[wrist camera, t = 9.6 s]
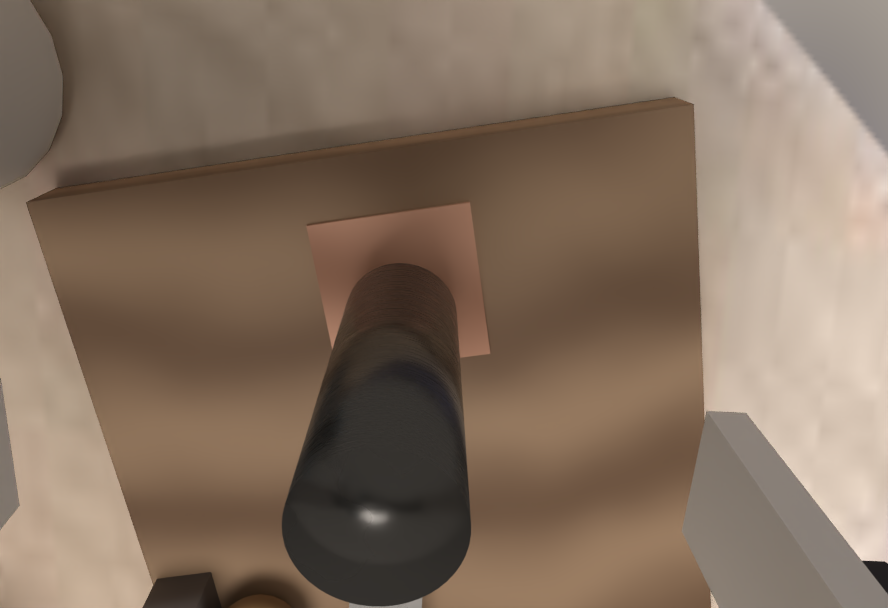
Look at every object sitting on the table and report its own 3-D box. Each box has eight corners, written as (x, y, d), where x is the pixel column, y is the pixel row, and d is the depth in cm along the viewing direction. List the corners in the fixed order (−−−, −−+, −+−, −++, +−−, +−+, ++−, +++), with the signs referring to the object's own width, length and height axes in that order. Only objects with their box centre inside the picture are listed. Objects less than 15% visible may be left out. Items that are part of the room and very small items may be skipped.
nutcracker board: (55, 188, 26) (-33, 230, 21) (674, 97, 25) (731, 118, 20) (230, 737, 34) (195, 858, 29) (699, 682, 33) (744, 798, 28)
